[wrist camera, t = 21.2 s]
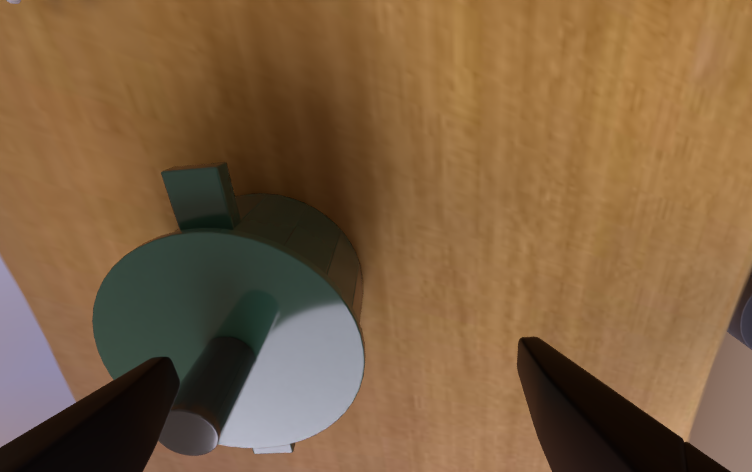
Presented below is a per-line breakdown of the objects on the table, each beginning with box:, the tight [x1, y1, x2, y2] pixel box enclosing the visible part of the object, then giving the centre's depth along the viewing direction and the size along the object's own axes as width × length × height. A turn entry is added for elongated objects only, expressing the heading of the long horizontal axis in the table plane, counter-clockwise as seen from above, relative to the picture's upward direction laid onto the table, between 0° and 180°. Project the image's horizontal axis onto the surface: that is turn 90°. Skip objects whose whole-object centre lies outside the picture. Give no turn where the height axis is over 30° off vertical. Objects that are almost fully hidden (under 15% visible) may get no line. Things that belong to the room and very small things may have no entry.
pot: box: [161, 162, 363, 454], centre depth 20 cm, size 12×17×6 cm
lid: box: [92, 228, 365, 456], centre depth 15 cm, size 13×13×5 cm
